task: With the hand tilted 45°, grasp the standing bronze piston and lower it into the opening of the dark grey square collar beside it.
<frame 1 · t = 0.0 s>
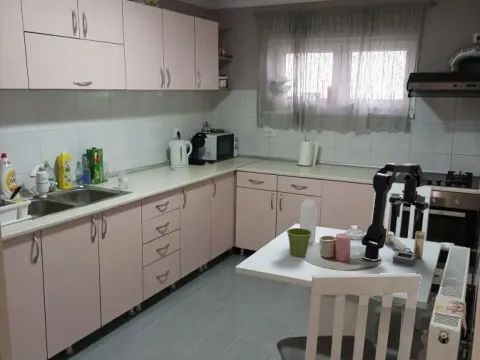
hand: (406, 219, 234), 15 cm above the table, tool pointing down, fingers open, 9 cm apart
collar: (404, 261, 217), on the table
milk: (306, 241, 241), on the table
piston: (417, 257, 222), on the table
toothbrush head: (397, 250, 234), on the table
plant pot: (297, 255, 221), on the table
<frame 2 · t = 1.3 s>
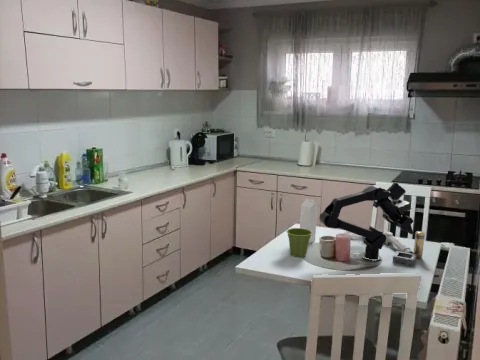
hand: (407, 230, 219), 13 cm above the table, tool tilted 45°, fingers open, 9 cm apart
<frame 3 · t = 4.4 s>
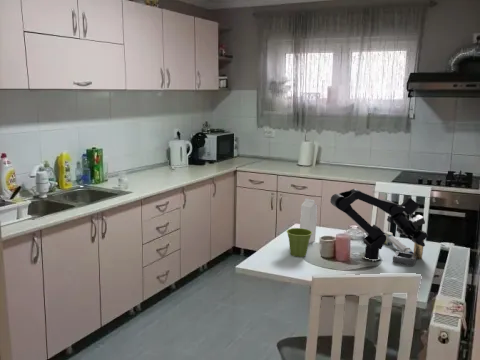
hand: (421, 244, 221), 7 cm above the table, tool tilted 45°, fingers closed on piston, 4 cm apart
piston: (417, 257, 222), on the table, touching gripper
everything else where it was.
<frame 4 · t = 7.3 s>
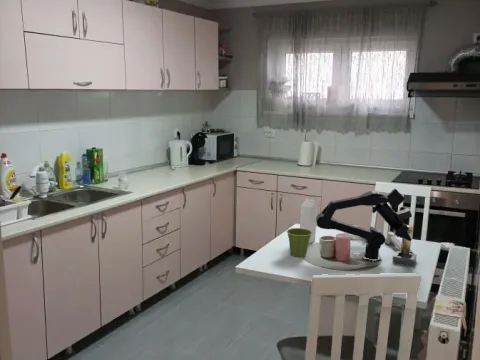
hand: (409, 239, 214), 11 cm above the table, tool tilted 45°, fingers closed on piston, 4 cm apart
piston: (405, 252, 216), point 4 cm above the table, touching gripper
when the fingers open (11 cm above the table, at t = 7.5 s): piston drops 4 cm, resting in collar.
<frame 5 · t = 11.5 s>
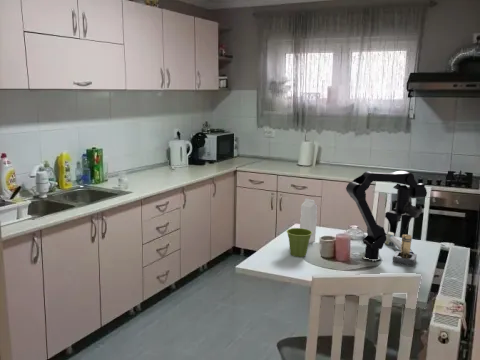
hand: (399, 231, 219), 13 cm above the table, tool pointing down, fingers open, 9 cm apart
piston: (404, 261, 217), resting in collar
everything else where it was.
at the end: piston 0.1 cm off-centre on the collar, point 0.0 cm above the collar's base; piston tilted 0°; the gripper is holding nothing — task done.
